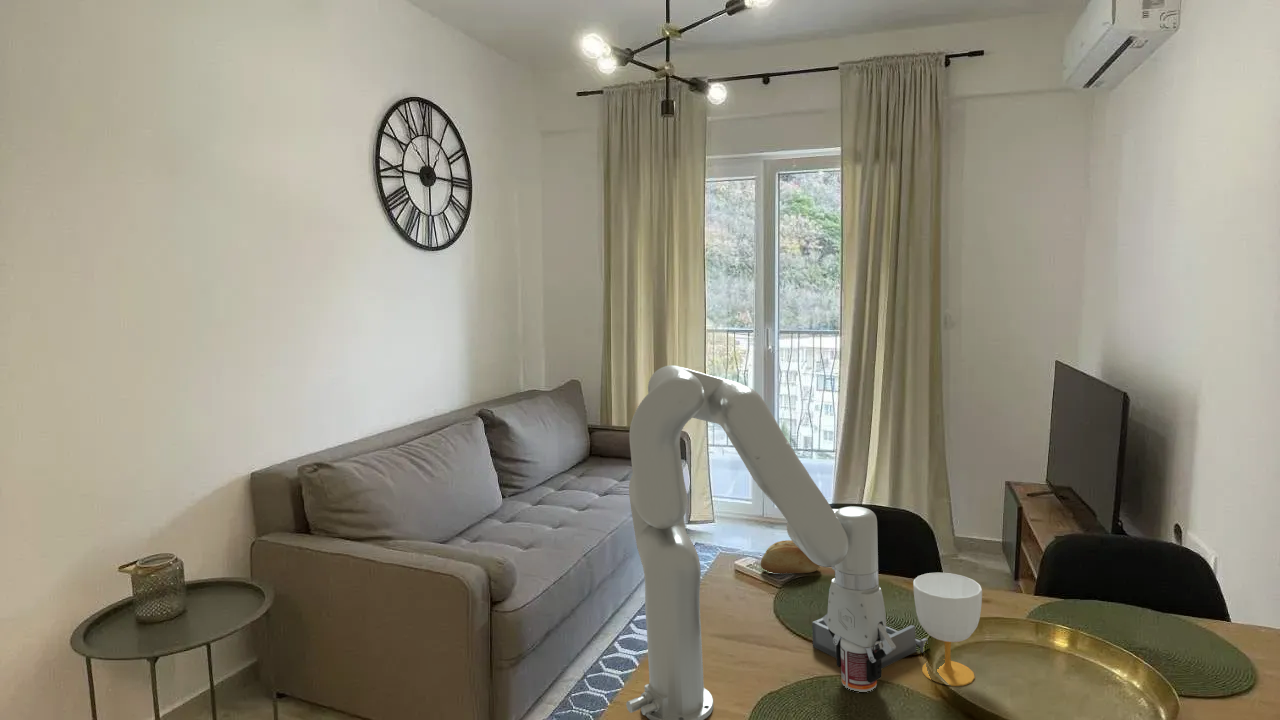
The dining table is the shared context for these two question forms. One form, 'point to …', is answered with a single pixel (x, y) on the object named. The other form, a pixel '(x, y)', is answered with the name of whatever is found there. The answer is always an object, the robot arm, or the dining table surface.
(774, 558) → the bread roll
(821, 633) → the housing
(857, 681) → the pill bottle
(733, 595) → the dining table surface
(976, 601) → the cup
